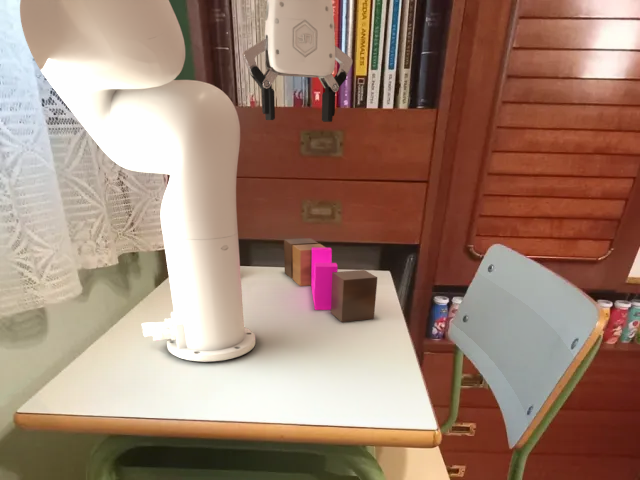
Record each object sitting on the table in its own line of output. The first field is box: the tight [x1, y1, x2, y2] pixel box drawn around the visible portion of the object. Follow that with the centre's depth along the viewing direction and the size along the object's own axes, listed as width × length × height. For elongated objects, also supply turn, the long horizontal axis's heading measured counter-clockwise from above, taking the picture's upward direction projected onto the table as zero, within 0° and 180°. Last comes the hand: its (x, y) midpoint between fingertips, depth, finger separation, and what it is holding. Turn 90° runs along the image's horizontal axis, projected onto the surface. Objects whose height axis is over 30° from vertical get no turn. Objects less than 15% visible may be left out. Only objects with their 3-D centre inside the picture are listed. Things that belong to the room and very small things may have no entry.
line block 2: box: [330, 269, 378, 323], centre depth 81 cm, size 6×5×7 cm
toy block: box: [310, 247, 339, 311], centre depth 90 cm, size 15×6×8 cm, turn 3°
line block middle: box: [292, 243, 327, 287], centre depth 98 cm, size 6×5×7 cm
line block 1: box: [283, 237, 319, 279], centre depth 103 cm, size 6×5×7 cm
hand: (299, 120), depth 77 cm, fingers open, 9 cm apart
